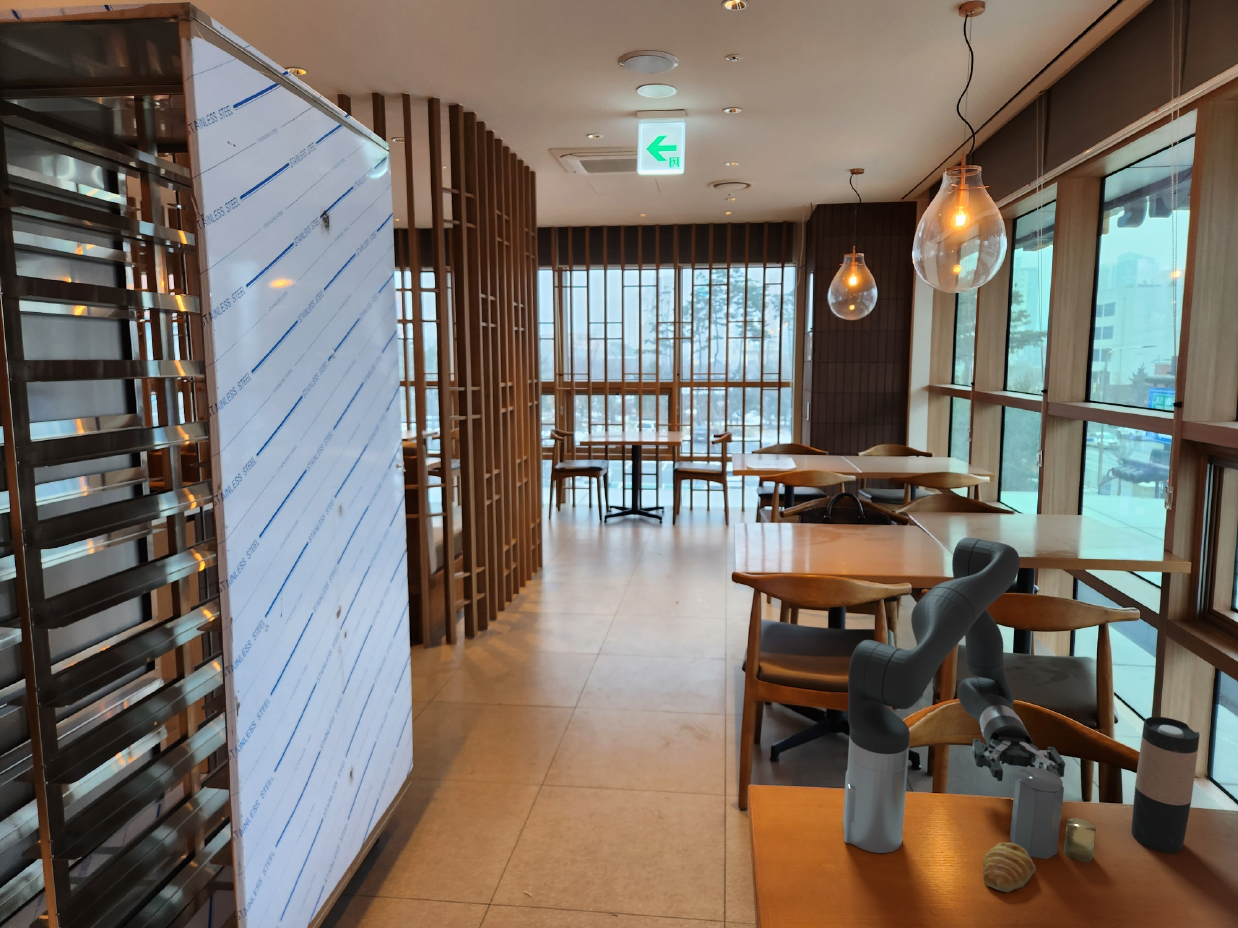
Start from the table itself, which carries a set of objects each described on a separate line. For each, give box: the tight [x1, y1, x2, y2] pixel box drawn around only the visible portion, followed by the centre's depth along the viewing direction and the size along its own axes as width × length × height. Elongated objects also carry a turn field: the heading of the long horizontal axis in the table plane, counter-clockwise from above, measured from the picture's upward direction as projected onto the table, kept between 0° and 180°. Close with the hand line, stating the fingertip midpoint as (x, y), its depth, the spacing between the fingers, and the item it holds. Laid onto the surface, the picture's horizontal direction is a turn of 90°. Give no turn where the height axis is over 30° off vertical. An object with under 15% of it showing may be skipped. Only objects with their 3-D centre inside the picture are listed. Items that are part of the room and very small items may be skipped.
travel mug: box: [1131, 716, 1200, 854], centre depth 130 cm, size 8×8×20 cm
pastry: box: [982, 841, 1036, 893], centre depth 123 cm, size 9×7×4 cm
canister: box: [1009, 767, 1065, 860], centre depth 129 cm, size 6×6×12 cm
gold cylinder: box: [1063, 817, 1097, 863], centre depth 128 cm, size 4×4×5 cm
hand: (1027, 779), depth 135 cm, fingers open, 8 cm apart
